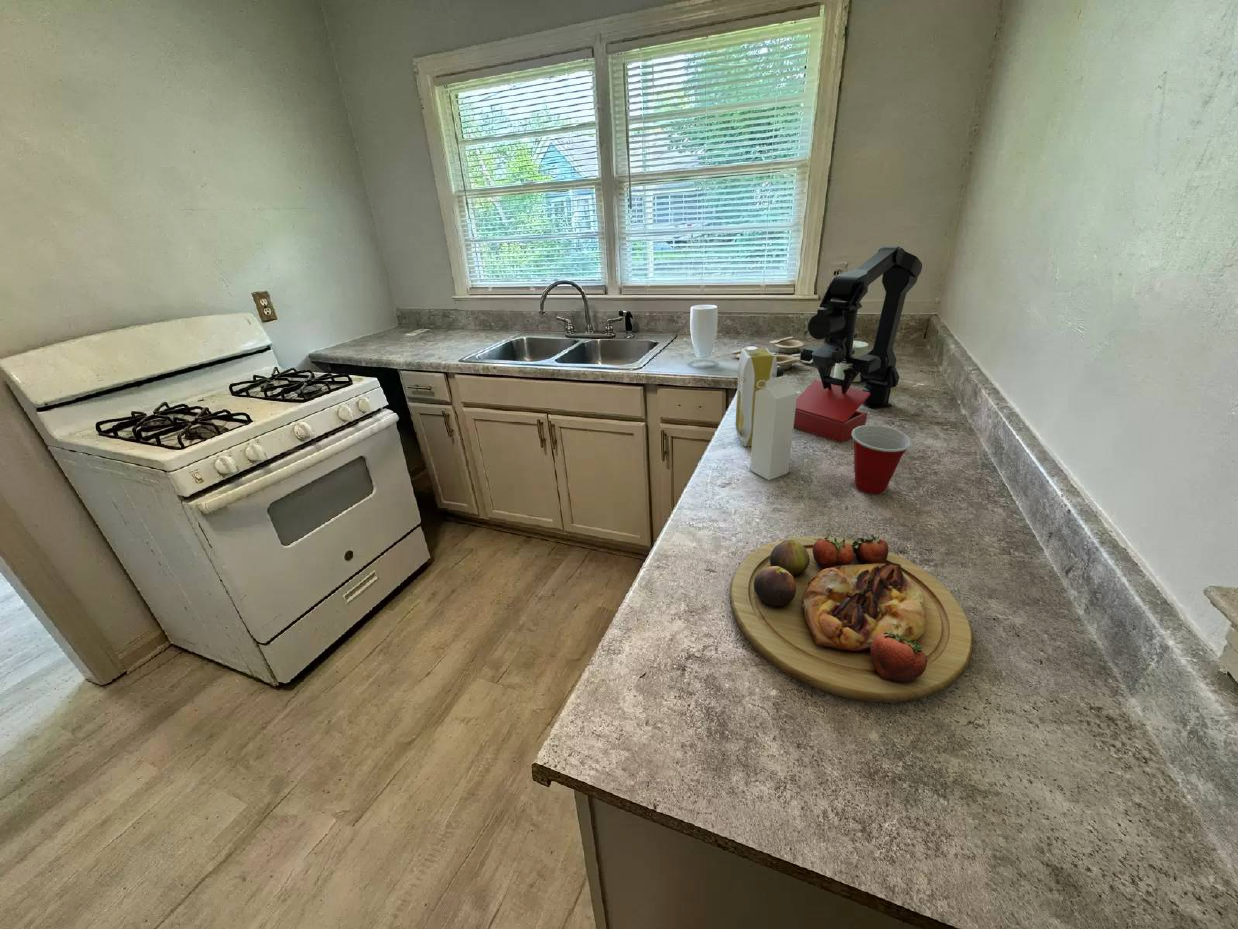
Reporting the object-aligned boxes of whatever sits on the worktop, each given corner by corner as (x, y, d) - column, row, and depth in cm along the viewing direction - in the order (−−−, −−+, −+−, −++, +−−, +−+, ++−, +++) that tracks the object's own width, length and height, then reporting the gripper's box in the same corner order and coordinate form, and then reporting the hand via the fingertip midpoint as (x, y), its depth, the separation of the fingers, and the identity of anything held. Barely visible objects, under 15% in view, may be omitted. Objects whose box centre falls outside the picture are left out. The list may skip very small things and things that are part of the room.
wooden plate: (1022, 722, 56) (1046, 672, 52) (733, 694, 61) (736, 646, 57) (917, 550, 84) (928, 509, 80) (726, 541, 89) (728, 502, 85)
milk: (788, 473, 110) (800, 378, 100) (768, 480, 108) (778, 384, 98) (768, 463, 115) (777, 371, 105) (749, 470, 113) (756, 376, 102)
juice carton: (733, 433, 131) (737, 343, 120) (762, 432, 131) (769, 341, 120) (741, 448, 123) (746, 353, 112) (773, 446, 122) (781, 351, 112)
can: (832, 381, 163) (837, 345, 158) (833, 373, 171) (838, 338, 166) (863, 383, 160) (869, 346, 155) (862, 374, 168) (868, 339, 162)
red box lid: (815, 381, 135) (812, 367, 132) (870, 394, 123) (868, 380, 120) (789, 408, 132) (786, 394, 129) (844, 424, 120) (842, 409, 117)
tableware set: (725, 355, 200) (726, 345, 198) (784, 344, 209) (785, 334, 208) (783, 376, 171) (784, 365, 169) (848, 363, 180) (849, 352, 178)
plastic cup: (876, 507, 96) (887, 451, 91) (831, 484, 105) (839, 432, 99) (912, 491, 100) (925, 437, 95) (866, 470, 109) (876, 420, 104)
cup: (720, 362, 192) (722, 304, 182) (710, 369, 184) (711, 309, 174) (696, 359, 197) (696, 303, 187) (684, 366, 189) (684, 308, 179)
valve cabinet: (811, 415, 139) (813, 398, 137) (864, 430, 128) (867, 413, 126) (787, 425, 134) (789, 408, 132) (841, 442, 122) (843, 424, 120)
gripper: (788, 332, 123) (784, 391, 130) (860, 343, 109) (850, 409, 117) (815, 322, 128) (810, 380, 136) (886, 332, 115) (876, 395, 122)
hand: (834, 390), depth 127 cm, fingers closed on red box lid, 5 cm apart
